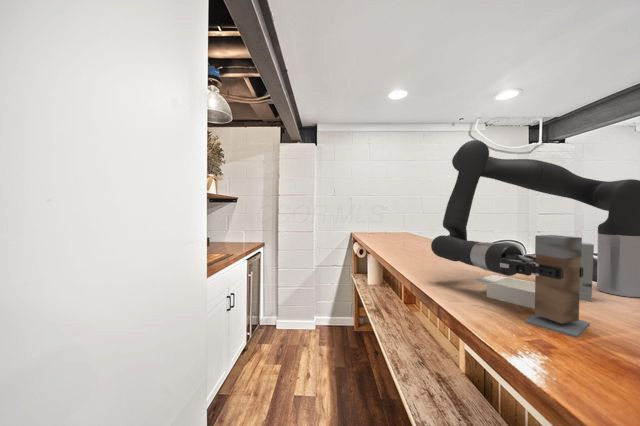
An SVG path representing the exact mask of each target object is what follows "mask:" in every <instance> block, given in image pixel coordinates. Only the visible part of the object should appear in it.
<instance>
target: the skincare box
mask: <svg viewBox="0 0 640 426" xmlns="http://www.w3.org/2000/svg"><path fill="white" fill-rule="evenodd" d="M594 252H595V244H593V243H591V242H582V252H581V257H580V267H582V268H583V277H580V293H579V301H583V302H590V303H592V296H593V295H592V293H593V291H592V290H593V274H594V273H593V272H594V254H595V253H594Z"/></svg>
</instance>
